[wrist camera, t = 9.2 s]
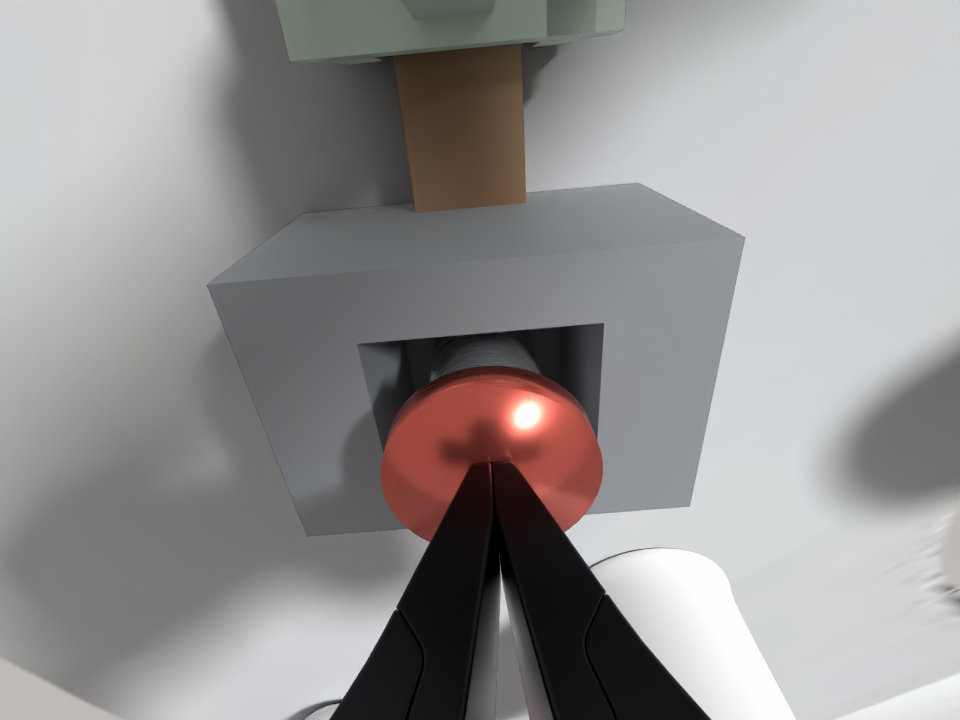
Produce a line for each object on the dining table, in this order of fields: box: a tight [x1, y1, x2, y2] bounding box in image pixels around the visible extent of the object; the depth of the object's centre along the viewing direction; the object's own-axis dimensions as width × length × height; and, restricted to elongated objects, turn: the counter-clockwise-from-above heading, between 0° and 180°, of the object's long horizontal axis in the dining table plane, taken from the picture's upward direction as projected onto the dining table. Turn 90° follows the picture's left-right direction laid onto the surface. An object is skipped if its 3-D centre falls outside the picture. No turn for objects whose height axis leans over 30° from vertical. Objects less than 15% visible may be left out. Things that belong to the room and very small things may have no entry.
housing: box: [207, 183, 745, 536], centre depth 13 cm, size 10×7×6 cm
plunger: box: [380, 329, 603, 542], centre depth 12 cm, size 4×4×6 cm
